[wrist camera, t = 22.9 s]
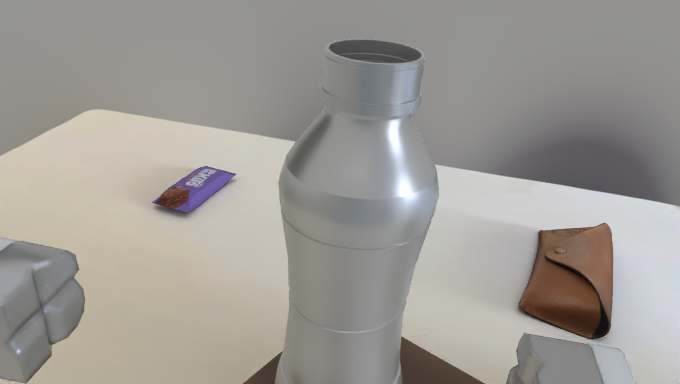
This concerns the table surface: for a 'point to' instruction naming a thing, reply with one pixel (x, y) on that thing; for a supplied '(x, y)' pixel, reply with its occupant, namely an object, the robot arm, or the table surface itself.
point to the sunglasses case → (573, 280)
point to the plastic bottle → (355, 216)
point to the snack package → (194, 189)
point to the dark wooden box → (416, 367)
